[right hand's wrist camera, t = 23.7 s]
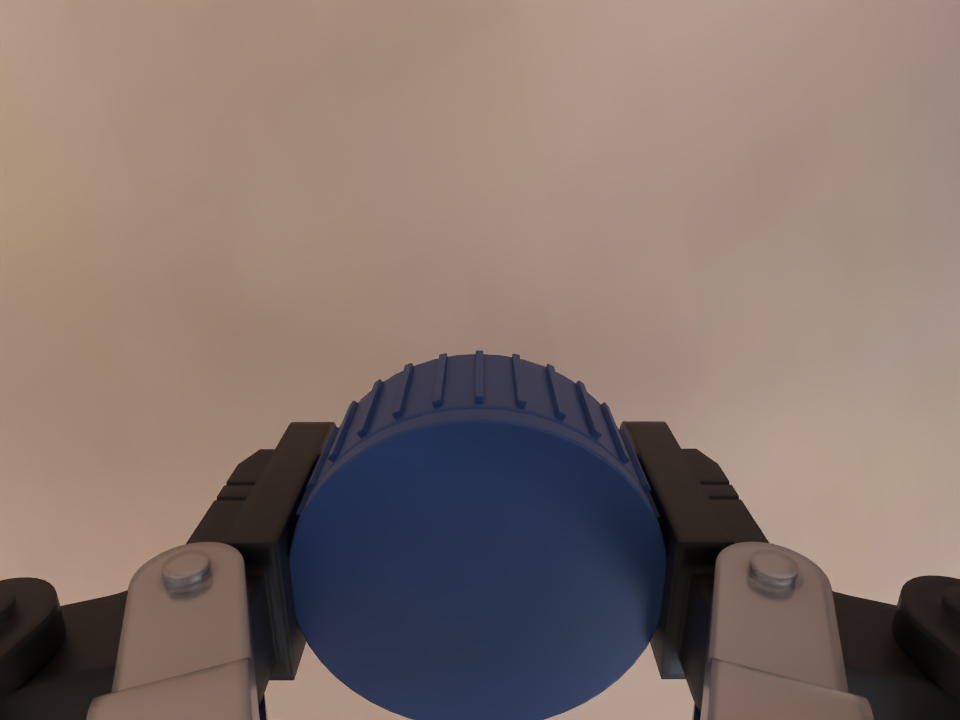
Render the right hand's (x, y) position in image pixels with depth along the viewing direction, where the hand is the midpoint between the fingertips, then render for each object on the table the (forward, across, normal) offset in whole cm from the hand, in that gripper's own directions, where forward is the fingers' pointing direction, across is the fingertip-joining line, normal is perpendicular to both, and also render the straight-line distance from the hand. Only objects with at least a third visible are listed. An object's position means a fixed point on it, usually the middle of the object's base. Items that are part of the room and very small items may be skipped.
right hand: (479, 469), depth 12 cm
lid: (-3, 0, 0) cm, 3 cm away
